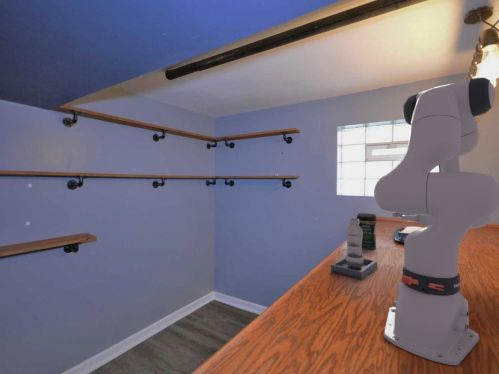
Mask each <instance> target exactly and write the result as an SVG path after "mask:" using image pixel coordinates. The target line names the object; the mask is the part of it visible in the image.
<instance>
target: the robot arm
mask: <svg viewBox="0 0 499 374" xmlns="http://www.w3.org/2000/svg"><path fill="white" fill-rule="evenodd" d="M496 92H497V91H496V88H495V86H494V85H493V83H492V81H491V80H490V79H488V78H486V77H477V78H476V77H475V78H470V79H469V80H463V81H458V82H453V83H448V84H445V85H442V84H441V85H439V86H436V87H432V88H429V89H427V90H424V91H421V92H416V93H413V94H412V95H410V96H408V97H407V98H406V100H404V102H403V105H402V115H403V119H404V121H405V123H406V124H408V125H410V129H409V137H408V138H409V139H408V143H407V144H408V145H407V149H406V152H405V153H404V156H403V158H402V159H401V161H400V162H399V163H398V164H397V165H396V166H395V167H394V168H393V169H392V170H391V171H389V172H388V173H386V174H385V175H382V177H380V178H379V179H378V181H377V182H376V184H375V186H374V190H373V195H374V200H375V202H376V204H377V206H378V207H379V208H380V209H381V210H384V211H387V212H391V213H392V217H394V218H401V219H402V220H403V221H410V222H414V223H418V224H420V225H424V226H426V227H422V228H418V229H416V230H413V231H411V232H410V233H408V234H407V235H406V236H405V237H404V238H405V239H404V242H403V243H404V244H403V245H404V251H403V252H404V253H403V254H404V255H403V256H404V258H403V260H404V261H403V262H404V264H403V265H402V269H401V281H400V282H399V283H397V294H396V300H394V301H393V303H392V304H393V306H391V307H388V313H387V315H386V316H387V317H386V322H385V326H384V332H383V338H385V340H387V341H389V342H390V343H391V344H393V345H394V346H396V347H399V348H401V349H402V350H404V351H406V352H409V353H411V354H413V355H416V356H418V357H421V358H424V359H427V360H429V361H433V362H436V363H440V364H444V365H450V366H458V365H460V363H461V362H462V361H463V360H464V359H465V358H466V356H467V355H468V354H469V353H470V352H471V351H472V349H473V348H474V347H475V346H476V345H477V343H478V342H479V341H480V337H479V334H478V333H477V332H475V331H473V330H472V329H470V323H469V317H470V316H469V301H468V300H467V299H466V298H465V296H463V295H462V293H461V292H460V290H461V284H462V283H461V281H462V279H461V275H460V273H458V271H459V269H458V267H459V265H458V264H459V254H460V247H461V243H462V240H463V238H464V237H465V235H466V233H467V232H468V231H469V230H471V229H480V228H483V227H485V226H487V224H488V223H489V221H490V218H491V215H493V214H494V213H496V211H497V210H498V209H499V182H498V181H497V180H496V179H495V178H494V177H493V176H491V175H490V174H486V173H480V172H479V173H478V172H469V171H460V157H461V156H464V155H468V154H469V153H471V152H472V151H474V150H475V148H476V147H477V146H478V144H479V143H478V142H479V128H478V124H477V119H476V117H479V116H481V115H484V114H487V113H488V112H489V111H490V110H491V109H492V108H493V104H494V103H495V100H496V96H497V95H496V94H497V93H496ZM436 167H438V171H433V172H431V171H432V170H433V169H435V168H436Z"/></svg>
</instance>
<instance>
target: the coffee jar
mask: <svg viewBox="0 0 499 374" xmlns="http://www.w3.org/2000/svg"><path fill="white" fill-rule="evenodd" d="M356 219H359V226H360V228H361V229H362V231H363V237H362V249H363V250H375V249H376V248H377V236H376V224H377V216H376V214H374V213H368V212H367V213H366V212H365V213H364V212H360V213H358V214H357V215H356Z"/></svg>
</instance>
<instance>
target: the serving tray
mask: <svg viewBox="0 0 499 374" xmlns="http://www.w3.org/2000/svg"><path fill="white" fill-rule="evenodd" d="M363 261H364V263H363V267H362V268H359V269H355V268H350V267H348V266H347V264H346V256H345V257H342V259H340V260H337V261H336V262H334V263H332V264H331V265H330V272H331V273H333V274H336V275H340V276H344V277H347V278H351V279H356V280H359V281H363V279H365V278H366V277H368V276H369V275H370V274H371V273H373V272H374V271H376V270H377V269H378V260H375V259H369V258H364V257H363Z"/></svg>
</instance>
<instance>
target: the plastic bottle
mask: <svg viewBox="0 0 499 374" xmlns="http://www.w3.org/2000/svg"><path fill="white" fill-rule="evenodd" d="M348 224H349V225H348V226H347V227H346V229H345V238H346V243H347V245H346V246H347V248H346V249H347V250H346V256H345V257H346V264H347V266H348V267H350V268H355V269H359V268H362V267H363V263H364V261H363V258H364V257H363V250H362V237H363V231H362V229H361V228H360V226H359V219H357V218H349V222H348Z"/></svg>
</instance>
